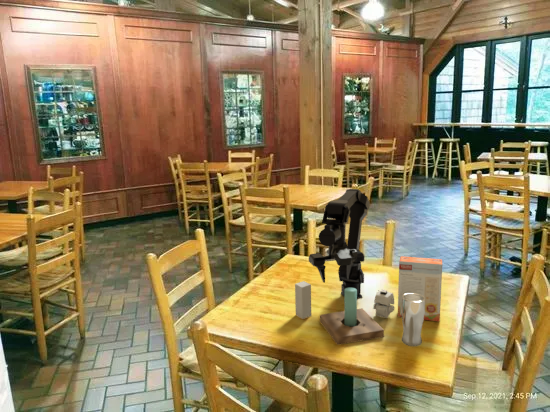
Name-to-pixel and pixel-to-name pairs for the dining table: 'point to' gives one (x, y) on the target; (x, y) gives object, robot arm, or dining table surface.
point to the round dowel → (350, 307)
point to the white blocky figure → (384, 303)
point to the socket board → (351, 334)
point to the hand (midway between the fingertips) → (336, 280)
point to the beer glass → (412, 318)
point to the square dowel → (303, 299)
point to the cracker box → (421, 283)
